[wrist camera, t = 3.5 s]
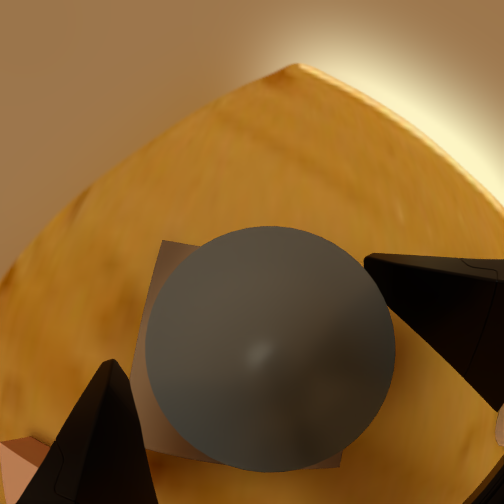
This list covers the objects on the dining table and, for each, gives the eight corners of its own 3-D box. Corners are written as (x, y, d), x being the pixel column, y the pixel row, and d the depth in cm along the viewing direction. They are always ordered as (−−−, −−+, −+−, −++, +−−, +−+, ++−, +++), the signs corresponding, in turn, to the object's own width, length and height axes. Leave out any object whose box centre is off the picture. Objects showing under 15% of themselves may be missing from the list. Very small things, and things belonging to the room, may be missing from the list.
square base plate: (350, 278, 18) (421, 215, 10) (333, 462, 13) (410, 507, 5) (165, 247, 17) (135, 159, 10) (126, 437, 12) (58, 477, 5)
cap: (342, 288, 12) (392, 247, 8) (328, 440, 9) (381, 466, 5) (189, 263, 12) (177, 208, 8) (159, 422, 9) (126, 447, 5)
